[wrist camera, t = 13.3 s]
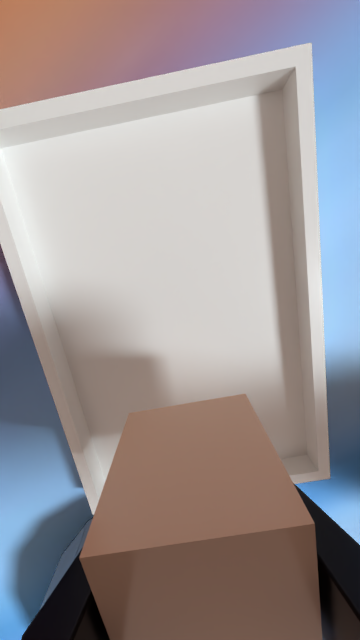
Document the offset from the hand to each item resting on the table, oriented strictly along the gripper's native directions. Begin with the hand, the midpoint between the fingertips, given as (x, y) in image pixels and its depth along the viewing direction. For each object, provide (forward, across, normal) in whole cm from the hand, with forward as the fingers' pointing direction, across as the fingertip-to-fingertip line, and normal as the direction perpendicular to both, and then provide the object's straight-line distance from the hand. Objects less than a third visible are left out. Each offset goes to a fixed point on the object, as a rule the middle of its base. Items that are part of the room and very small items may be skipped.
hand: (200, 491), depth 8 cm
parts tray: (+5, 0, -4) cm, 7 cm away
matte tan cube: (+2, 0, 0) cm, 2 cm away
